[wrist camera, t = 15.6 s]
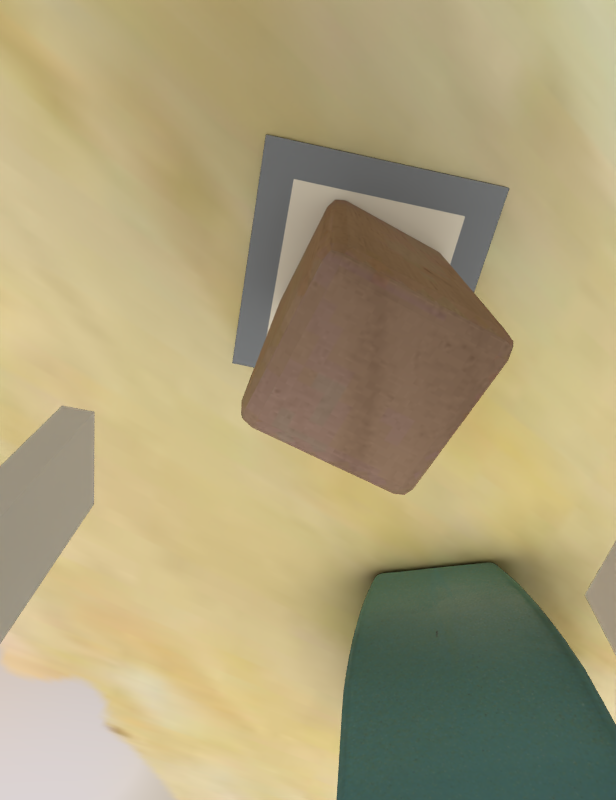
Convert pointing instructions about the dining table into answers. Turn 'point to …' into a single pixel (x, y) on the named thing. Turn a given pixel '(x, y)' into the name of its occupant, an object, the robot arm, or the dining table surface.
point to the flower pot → (468, 696)
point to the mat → (367, 189)
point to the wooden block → (373, 352)
